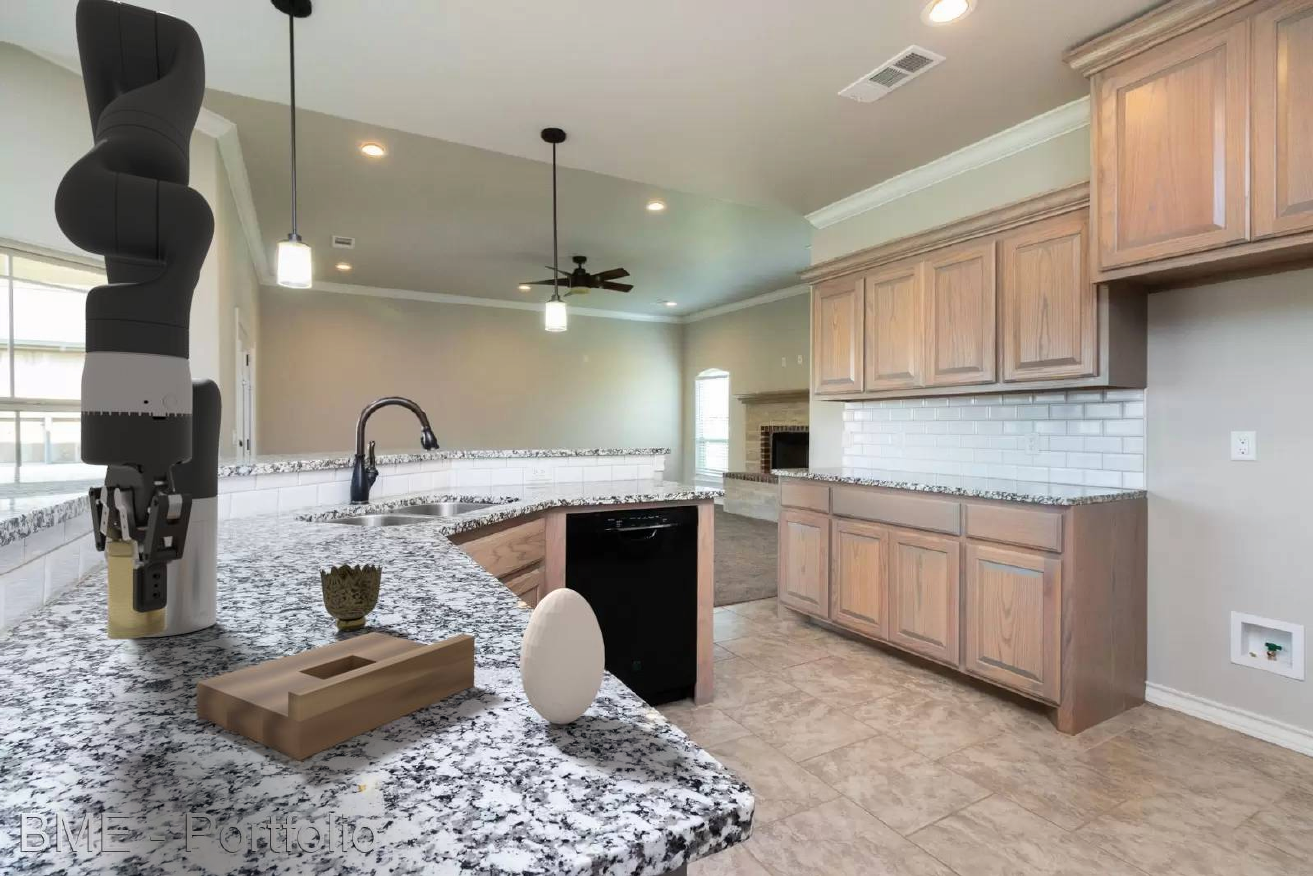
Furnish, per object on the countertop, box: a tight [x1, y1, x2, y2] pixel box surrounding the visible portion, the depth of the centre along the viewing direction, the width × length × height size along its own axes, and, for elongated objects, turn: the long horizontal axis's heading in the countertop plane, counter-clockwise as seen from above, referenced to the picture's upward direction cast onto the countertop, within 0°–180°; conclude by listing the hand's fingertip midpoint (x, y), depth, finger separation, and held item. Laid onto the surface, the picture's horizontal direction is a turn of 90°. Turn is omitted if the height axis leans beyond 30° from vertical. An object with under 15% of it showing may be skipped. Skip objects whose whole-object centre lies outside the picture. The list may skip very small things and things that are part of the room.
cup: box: [319, 563, 383, 632], centre depth 85 cm, size 8×7×8 cm
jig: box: [196, 631, 476, 761], centre depth 61 cm, size 16×18×5 cm
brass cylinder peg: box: [106, 539, 167, 640], centre depth 56 cm, size 4×4×8 cm
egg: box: [519, 587, 606, 725], centre depth 57 cm, size 7×7×12 cm
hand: (137, 605), depth 56 cm, fingers closed on brass cylinder peg, 4 cm apart
